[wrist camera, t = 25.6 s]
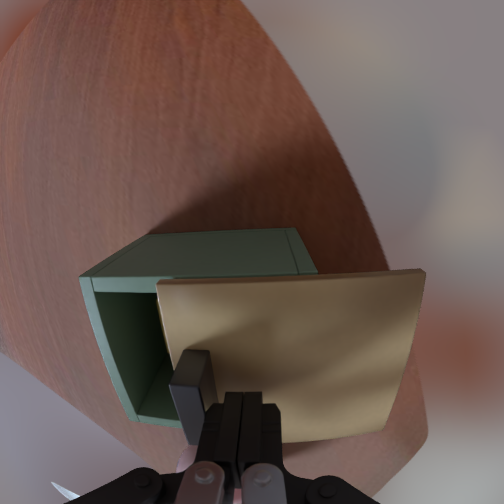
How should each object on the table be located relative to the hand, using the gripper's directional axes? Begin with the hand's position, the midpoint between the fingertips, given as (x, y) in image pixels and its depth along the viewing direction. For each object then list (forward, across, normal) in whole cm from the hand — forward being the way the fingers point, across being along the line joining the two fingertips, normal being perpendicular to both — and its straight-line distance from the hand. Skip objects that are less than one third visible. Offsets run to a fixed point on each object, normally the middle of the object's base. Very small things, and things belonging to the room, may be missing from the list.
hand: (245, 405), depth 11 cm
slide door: (+2, -2, 0) cm, 3 cm away
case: (+11, +2, 0) cm, 11 cm away
